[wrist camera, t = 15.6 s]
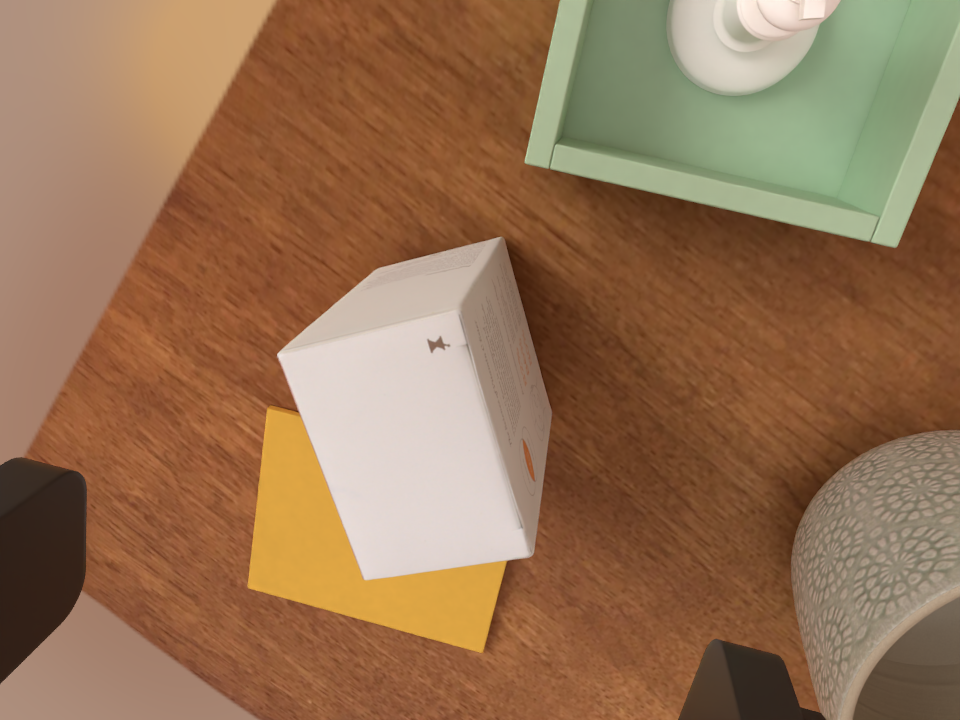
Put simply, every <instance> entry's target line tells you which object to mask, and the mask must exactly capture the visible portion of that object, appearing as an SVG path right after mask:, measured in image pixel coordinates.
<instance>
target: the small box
mask: <svg viewBox="0 0 960 720" xmlns="http://www.w3.org/2000/svg"><path fill="white" fill-rule="evenodd" d="M277 357H278V360H279V362H280V365H281V367H282V370H283V372H284V375H285V378H286V380H287V383H288V386H289V388H290V391H291V393H292V396H293V399H294V401H295V404H296V406H297V409H298V411H299V414H300V416H301V419H302V422H303V424H304V427H305V429H306V432H307V435H308V437H309V440H310V442H311V445H312V447H313V450H314V452H315V455H316V457H317V460H318V462H319V465H320V468H321V470H322V473H323V476H324V478H325V481H326V483H327V486H328V489H329V491H330V494H331V496H332V499H333V501H334V504H335V506H336V509H337V512H338V514H339V517H340V519H341V522H342V525H343V527H344V530H345V532H346V535H347V537H348V540H349V543H350V545H351V548H352V551H353V554H354V556H355V559H356V561H357V564H358V566H359V569H360V571H361V575H362V578H363V579H364V580H372V579H380V578H388V577H395V576H403V575H409V574H416V573H422V572H430V571H437V570H443V569H450V568H457V567H464V566H471V565H477V564H484V563H492V562H499V561H506V560H514V559H521V558H528V557H531V556H532V555H533V554H534V549H535V541H536V534H537V526H538V519H539V511H540V503H541V496H542V488H543V481H544V473H545V465H546V457H547V449H548V442H549V435H550V427H551V418H552V410H551V407H550V404H549V400H548V397H547V393H546V389H545V386H544V382H543V379H542V375H541V371H540V367H539V364H538V360H537V357H536V353H535V349H534V346H533V342H532V339H531V335H530V331H529V328H528V324H527V320H526V317H525V313H524V309H523V305H522V302H521V298H520V295H519V291H518V288H517V284H516V280H515V277H514V273H513V269H512V266H511V262H510V258H509V255H508V251H507V246H506V242H505V239H504V238H503V237H498V238H494V239H491V240H487V241H483V242H479V243H475V244H471V245H467V246H463V247H459V248H455V249H451V250H447V251H443V252H440V253H436V254H432V255H428V256H424V257H420V258H416V259H412V260H408V261H404V262H400V263H396V264H393V265H389V266H385V267H381V268H378V269H376V270H375V271H374V272H372V273H371V274H370V275H369V276H368V277H367V278H365V279H364V280H363V281H362V282H360V283H359V284H358V285H357V286H356V287H355V288H353V289H352V290H351V291H350V292H349V293H347V294H346V295H345V296H344V297H343V298H341V299H340V300H339V301H338V302H337V303H336V304H334V305H333V306H332V307H331V308H330V309H329V310H327V311H326V312H325V313H324V314H323V315H321V316H320V317H319V318H318V319H317V320H316V321H314V322H313V323H312V324H311V325H309V326H308V327H307V328H306V329H305V330H304V331H303V332H301V333H300V334H299V335H298V336H297V337H295V338H294V339H293V340H292V341H291V342H290V343H289V344H287V345H286V346H285V347H284V348H283V349H282V350H281V351H280V352H279V353H278V354H277Z"/></svg>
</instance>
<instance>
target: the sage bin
mask: <svg viewBox="0 0 960 720" xmlns="http://www.w3.org/2000/svg"><path fill="white" fill-rule="evenodd" d="M669 2H670V0H560V3H559V8H558V12H557V17H556V21H555V26H554V30H553V35H552V40H551V44H550V49H549V53H548V58H547V62H546V67H545V71H544V76H543V80H542V85H541V89H540V94H539V99H538V103H537V108H536V112H535V117H534V121H533V126H532V130H531V135H530V139H529V144H528V148H527V153H526V158H525V164H528V165H533V166H537V167H541V168H546V169H548V168H549V167H550V169H551V170H555V171H559V172H564V173H568V174H572V175H577V176H581V177H586V178H590V179H594V180H599V181H603V182H607V183H612V184H616V185H621V186H625V187H629V188H634V189H638V190H643V191H647V192H651V193H656V194H660V195H664V196H669V197H673V198H678V199H682V200H686V201H691V202H695V203H699V204H704V205H708V206H713V207H717V208H721V209H726V210H730V211H735V212H739V213H743V214H748V215H752V216H756V217H761V218H765V219H770V220H774V221H778V222H783V223H787V224H792V225H796V226H800V227H805V228H809V229H813V230H818V231H822V232H827V233H831V234H835V235H840V236H844V237H849V238H853V239H857V240H862V241H866V242H868V241H870V242H872V243H875V244H879V245H883V246H888V247H892V248H896V247H897V246H898V244H899V241H900V239H901V236H902V234H903V232H904V229H905V227H906V224H907V222H908V220H909V217H910V215H911V212H912V210H913V208H914V205H915V203H916V200H917V198H918V196H919V193H920V191H921V188H922V186H923V184H924V181H925V179H926V176H927V174H928V172H929V169H930V167H931V164H932V162H933V160H934V157H935V155H936V152H937V150H938V148H939V145H940V143H941V140H942V138H943V136H944V133H945V131H946V128H947V126H948V124H949V121H950V119H951V116H952V114H953V112H954V109H955V107H956V104H957V102H958V100H959V97H960V0H841V1H840V3H839V4H838V6H837V7H836V9H835V10H834V11H833V13H832V14H831V15H830V16H829V17H828V18H827V19H825V20H824V21H823V22H821V23H820V25H819V28H818V31H817V34H816V37H815V39H814V41H813V43H812V45H811V47H810V49H809V51H808V52H807V54H806V55H805V57H804V58H803V59H802V60H801V62H800V63H799V64H798V65H797V66H796V67H795V68H794V69H793V70H792V71H791V72H790V73H789V74H788V75H787V76H785V77H784V78H783V79H782V80H780V81H779V82H777V83H776V84H774V85H772V86H770V87H768V88H766V89H764V90H762V91H759V92H756V93H752V94H748V95H742V96H725V95H719V94H715V93H711V92H709V91H706V90H704V89H702V88H700V87H699V86H697V85H695V84H694V83H693V82H691V81H690V80H689V79H688V78H687V77H686V76H685V75H684V74H683V73H682V71H681V70H680V69H679V67H678V66H677V64H676V62H675V61H674V59H673V56H672V54H671V51H670V48H669V45H668V40H667V32H666V19H667V11H668V6H669Z"/></svg>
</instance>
